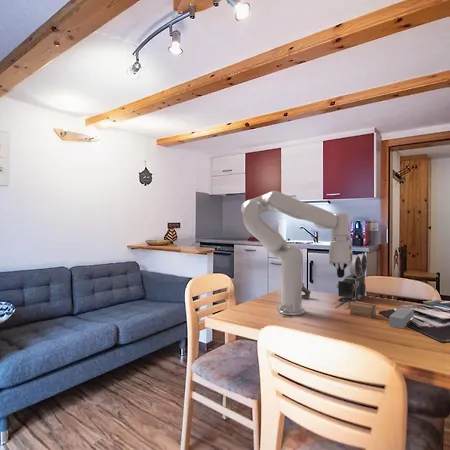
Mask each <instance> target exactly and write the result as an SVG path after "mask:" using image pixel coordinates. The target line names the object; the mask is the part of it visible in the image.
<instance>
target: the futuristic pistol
mask: <svg viewBox="0 0 450 450" xmlns="http://www.w3.org/2000/svg"><path fill="white" fill-rule="evenodd" d="M302 293H304V294H302V298H305V299H310V297H311V291H310V290H309V289H308V288H307V287H305V283H304V282H302Z"/></svg>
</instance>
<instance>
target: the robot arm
mask: <svg viewBox="0 0 450 450" xmlns="http://www.w3.org/2000/svg"><path fill="white" fill-rule="evenodd" d="M240 210H241V213H242V222H243V224H244V227H245V228H246V230H247V231H248V232H249V233H250V234H251V235H252V236H253V237H255V239H257V240H258V241H259V243H260V244H261V246H262V247H263V248H264V249H265V250H266V251H268V252H269V253H270V254H272V256H274V257H275V258H277V259H278V260H279V261H280V262H281V268H280V285H281V286H280V288H281V289H280V293H281V295H280V298H281V299H280V300H281V301H280V302H281V303H280V306H277V308H276V311H277V312H278V313H279V314H282V315H285V316H300V315H304V314H305V313H306V309H305V308H304V307H302V306H303V304H302V303H303V301H302V300H303V299H302V295H303V294H302V293H303V291H302V283H303V281H302V271H303V270H302V269H303V259H304V258H303V257H304V256H303V252H302V250H301V249H300V248H299V247H298V246H296V245H294V244H291V243H289V242H288V241H287V240H286V239H284V237H283V236H282V234H281V233H280V232H278V231H277V230H276V229H274V228H273V227H271V226H270V225H269V224H268V223H267V222H266V221H265V220H264V219H263V218H262V216H261V214H263V213H266V212H269V211H271V210H274V211H276V212H279V213H281V214H284V215H286V216H287V217H290V218H293V219H297V220H301V221H302V220H303V221H307V222H310V223H313V225H315V227H316V228H318V229H321V230H331V241H330V245H329V251H328V261H329V263H328V264H329V265H332V266H333V267H335V269H336V276H337V278H338V279H339V278H340V279H342V278H345V269H346V268H347V267H349V266H351V265H352V261H353V256H354V255H353V248H352V243H351V241H350V240H352V236H350V235H349V215H348V213H346V212H335V213H333V212H331V211H329V210H326V209H324V208H322V207H319V206H315V205H313V204H311V203H307V202H304V201H301V200H299V199H296V198H294V197H292V196H290V195H288V194H284V193H282V192H281V191H277V190H271V191H269V192H267V193H265V194H263V195H262V194H261V195H259V196H257V197H254V198H251V199H248V200H246V201H243V203H242V204H241V208H240Z"/></svg>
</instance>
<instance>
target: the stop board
mask: <svg viewBox="0 0 450 450" xmlns="http://www.w3.org/2000/svg"><path fill="white" fill-rule="evenodd" d="M414 312H415V308H409V307H404V306H401V307H399V308H398V309H396V310H395V311H394V312H393V313H391V315H389V316H388V320H389V322H388V323H389V325H388V326H389V327H393V328H396V329H397V328H399V329H402V330H403V329H405V327H406V326H407V325H408V324H409V323H410V322H409V320H410V319H411V318H412V317H413V316H414V315H415V313H414ZM408 322H409V323H408ZM407 323H408V324H407ZM406 324H407V325H406Z"/></svg>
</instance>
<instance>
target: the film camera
mask: <svg viewBox="0 0 450 450" xmlns="http://www.w3.org/2000/svg"><path fill="white" fill-rule="evenodd" d="M367 259H368V258H367V255H366V254H365V253H359V254H357V255H353V261H352V265H351V266H348V268H349V269H348V270H349V275H348V276H344V277H343V280H339V281H338V283H337V284H336V288H337V290H338V297H340V298H338V299H337V300H336V301H333V302H332V303H331V305H332V306H333V305H336V303H339V302H341V303H343V304H341V307H344V306H346V305H347V304H351V302H355V301H359V300H361V299H362V298H363V297H364V296H366V274H365V273H366V271H367V266H368V260H367Z"/></svg>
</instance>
